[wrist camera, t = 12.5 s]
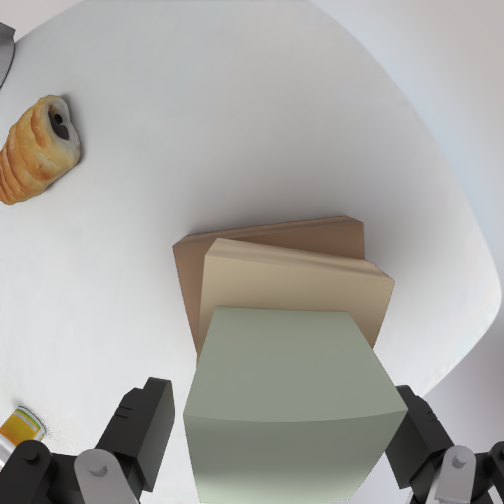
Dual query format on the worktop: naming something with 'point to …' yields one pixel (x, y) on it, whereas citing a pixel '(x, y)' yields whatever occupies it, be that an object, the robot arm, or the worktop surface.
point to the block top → (292, 284)
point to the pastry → (38, 150)
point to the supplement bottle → (18, 432)
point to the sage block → (287, 408)
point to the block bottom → (282, 235)
